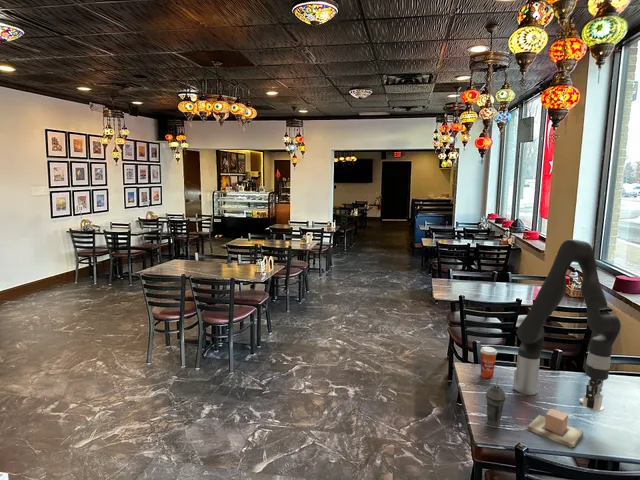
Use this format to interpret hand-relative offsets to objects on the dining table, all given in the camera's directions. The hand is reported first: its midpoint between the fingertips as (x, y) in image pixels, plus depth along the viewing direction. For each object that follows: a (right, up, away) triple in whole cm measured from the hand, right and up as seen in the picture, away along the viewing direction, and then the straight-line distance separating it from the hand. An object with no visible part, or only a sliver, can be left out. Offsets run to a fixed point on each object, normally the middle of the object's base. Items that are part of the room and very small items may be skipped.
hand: (592, 405), depth 168 cm
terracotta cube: (-15, -9, -1) cm, 17 cm away
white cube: (0, -1, 0) cm, 1 cm away
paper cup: (-23, -3, +46) cm, 52 cm away
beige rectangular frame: (-15, -10, -1) cm, 18 cm away
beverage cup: (-37, -9, +4) cm, 38 cm away
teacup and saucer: (+13, -8, +23) cm, 27 cm away
